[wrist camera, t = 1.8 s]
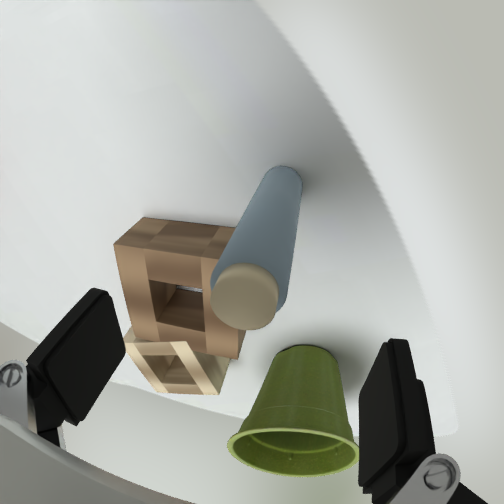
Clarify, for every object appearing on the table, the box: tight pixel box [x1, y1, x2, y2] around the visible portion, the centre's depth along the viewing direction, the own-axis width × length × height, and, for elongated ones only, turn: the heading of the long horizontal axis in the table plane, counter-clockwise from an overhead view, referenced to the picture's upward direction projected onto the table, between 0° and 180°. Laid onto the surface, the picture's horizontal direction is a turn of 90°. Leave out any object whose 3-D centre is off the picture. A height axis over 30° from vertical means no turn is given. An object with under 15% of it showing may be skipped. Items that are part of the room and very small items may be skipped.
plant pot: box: [227, 346, 359, 477], centre depth 28 cm, size 12×12×11 cm
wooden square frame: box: [113, 218, 246, 360], centre depth 26 cm, size 10×10×5 cm
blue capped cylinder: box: [210, 166, 302, 330], centre depth 17 cm, size 3×3×14 cm
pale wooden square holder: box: [123, 326, 230, 395], centre depth 31 cm, size 8×8×5 cm
